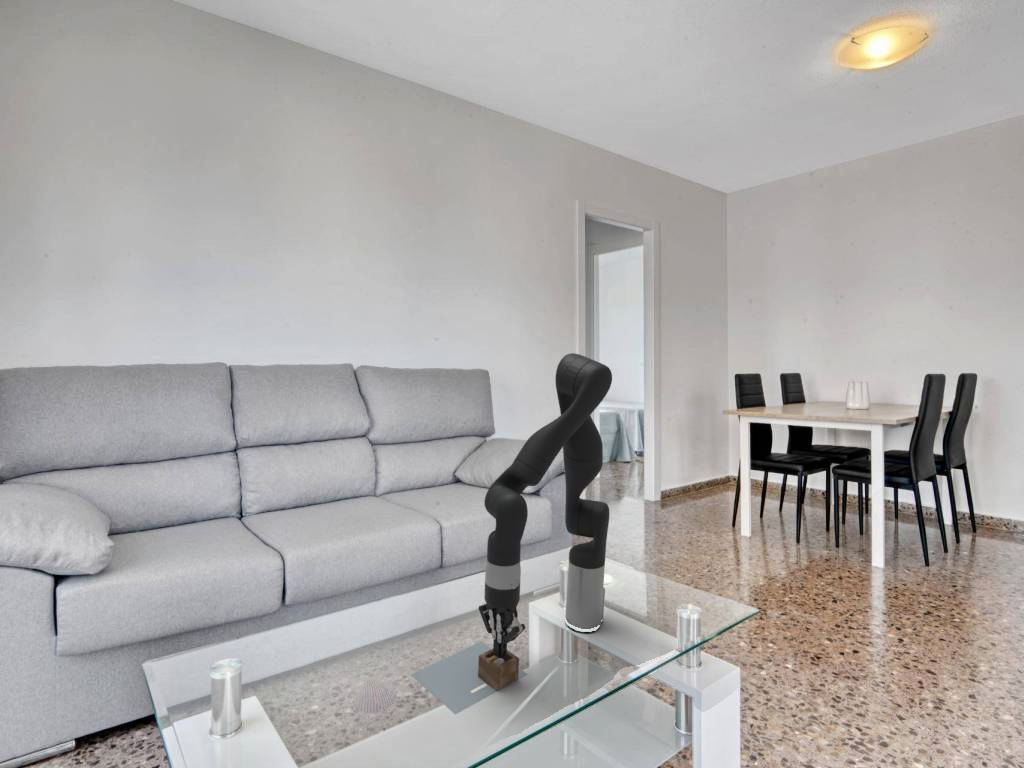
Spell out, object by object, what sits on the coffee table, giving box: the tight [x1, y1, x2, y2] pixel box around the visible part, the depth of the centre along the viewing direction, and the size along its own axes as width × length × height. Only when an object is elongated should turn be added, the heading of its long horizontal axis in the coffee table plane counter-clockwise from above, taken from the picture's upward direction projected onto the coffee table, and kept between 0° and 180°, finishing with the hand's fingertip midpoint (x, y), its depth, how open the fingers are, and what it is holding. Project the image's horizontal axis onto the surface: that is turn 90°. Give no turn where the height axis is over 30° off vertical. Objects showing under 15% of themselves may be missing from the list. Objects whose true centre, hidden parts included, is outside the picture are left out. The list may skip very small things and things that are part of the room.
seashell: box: [352, 678, 398, 714], centre depth 121 cm, size 10×6×10 cm
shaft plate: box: [410, 641, 528, 715], centre depth 129 cm, size 20×16×5 cm
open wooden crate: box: [478, 648, 520, 692], centre depth 128 cm, size 6×6×6 cm
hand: (499, 655), depth 127 cm, fingers closed
